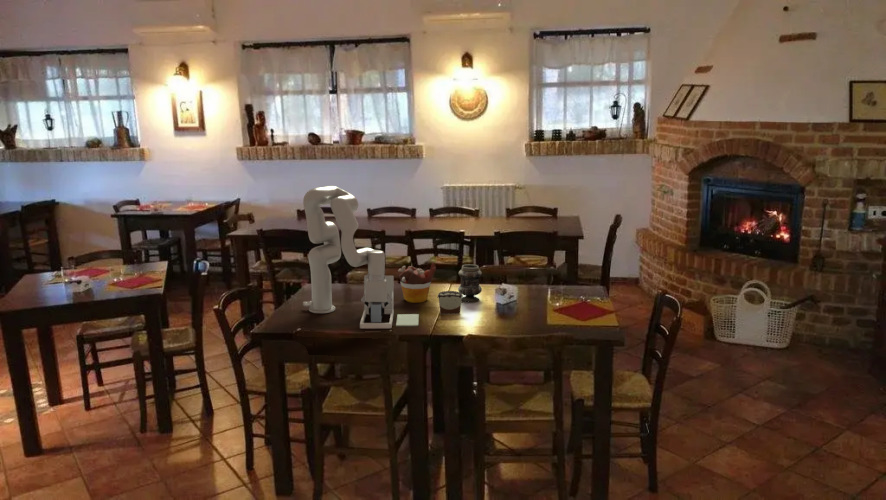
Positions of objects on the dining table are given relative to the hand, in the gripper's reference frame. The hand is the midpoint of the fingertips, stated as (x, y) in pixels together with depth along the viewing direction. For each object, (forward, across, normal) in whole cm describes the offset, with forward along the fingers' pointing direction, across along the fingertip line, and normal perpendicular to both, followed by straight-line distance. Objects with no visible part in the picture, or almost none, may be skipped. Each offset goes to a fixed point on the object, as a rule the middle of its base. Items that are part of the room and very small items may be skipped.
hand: (376, 315), depth 315 cm
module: (+2, 0, 0) cm, 2 cm away
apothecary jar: (+3, +45, +34) cm, 57 cm away
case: (+3, 0, +2) cm, 3 cm away
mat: (+2, +14, 0) cm, 15 cm away
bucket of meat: (+3, +18, +34) cm, 39 cm away
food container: (+3, +34, +13) cm, 37 cm away
